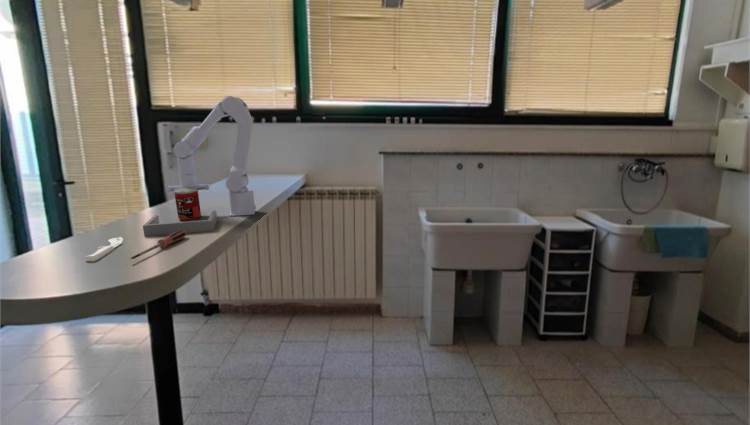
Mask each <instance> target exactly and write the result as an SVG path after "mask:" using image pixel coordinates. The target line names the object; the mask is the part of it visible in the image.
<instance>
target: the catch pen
mask: <svg viewBox="0 0 750 425" xmlns="http://www.w3.org/2000/svg"><path fill="white" fill-rule="evenodd" d="M159 217H160V216H159V214H156V215H155V214H154V215H153V216H152V217H151V218H150V219H149V220H147V222H145V223H144V224H143V225H142V230H143V235H144V236H143V237H154V236H155V237H156V236H168V235H171V234H172V233H174V232H177V231H181V230H184V231H185V232H186V234H189V233H201V232H213V231H214V228H215V227H216V224H217V222H218V217H217V210H213V211H212V212H211V213H210V215H209V217H208V219H205V220H204V219H203V220H190V221H178V222H176V221H175V222H166V223H165V222H163V223H160V218H159Z"/></svg>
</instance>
